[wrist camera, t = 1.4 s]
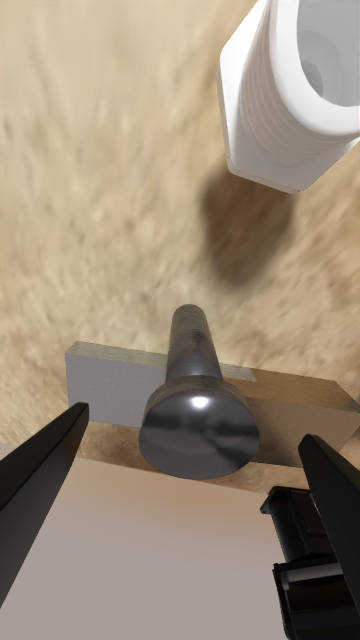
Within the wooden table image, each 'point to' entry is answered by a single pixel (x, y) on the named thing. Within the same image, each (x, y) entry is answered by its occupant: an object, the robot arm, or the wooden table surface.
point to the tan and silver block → (257, 385)
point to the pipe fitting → (291, 91)
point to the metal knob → (196, 409)
